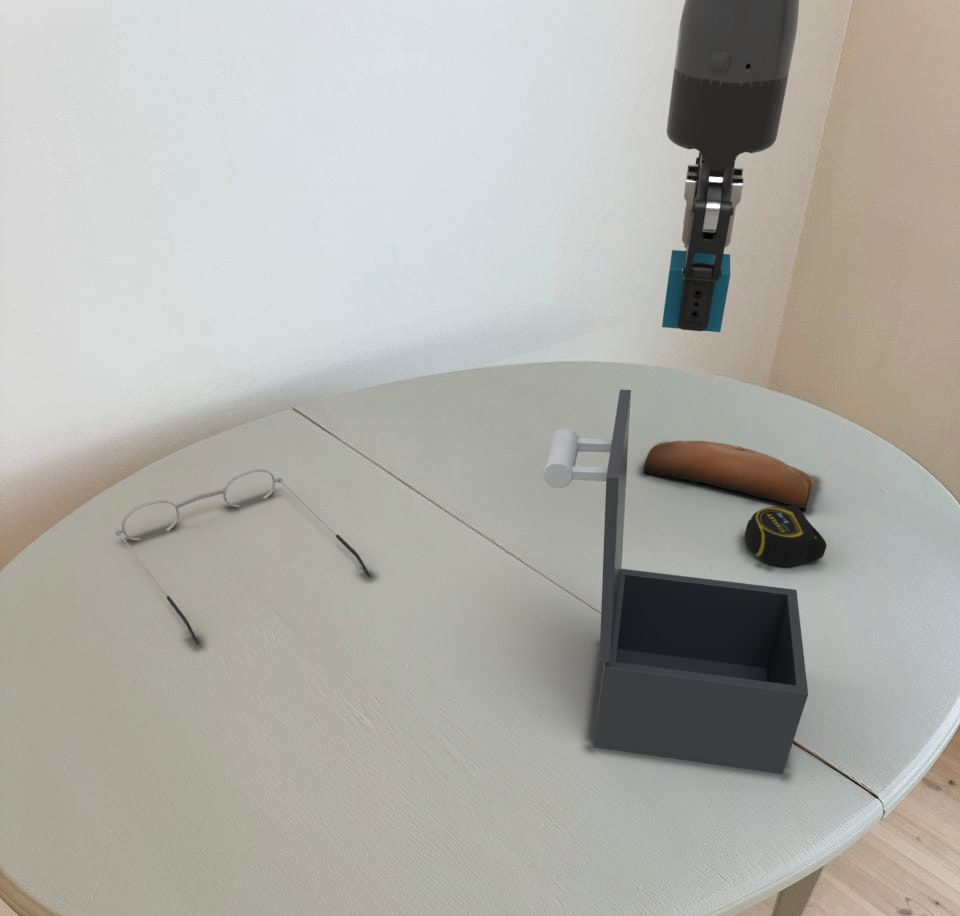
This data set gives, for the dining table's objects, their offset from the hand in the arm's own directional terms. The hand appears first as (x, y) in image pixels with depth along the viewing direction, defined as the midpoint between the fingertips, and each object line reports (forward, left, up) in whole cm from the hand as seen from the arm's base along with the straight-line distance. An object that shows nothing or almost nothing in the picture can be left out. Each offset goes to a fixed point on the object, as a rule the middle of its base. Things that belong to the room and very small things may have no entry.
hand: (692, 314), depth 77 cm
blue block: (0, 0, 0) cm, 0 cm away
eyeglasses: (+39, +3, -27) cm, 48 cm away
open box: (-4, +15, -27) cm, 31 cm away
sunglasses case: (-8, -23, -27) cm, 36 cm away
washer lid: (+3, +15, -10) cm, 19 cm away
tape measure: (-13, -10, -27) cm, 32 cm away
